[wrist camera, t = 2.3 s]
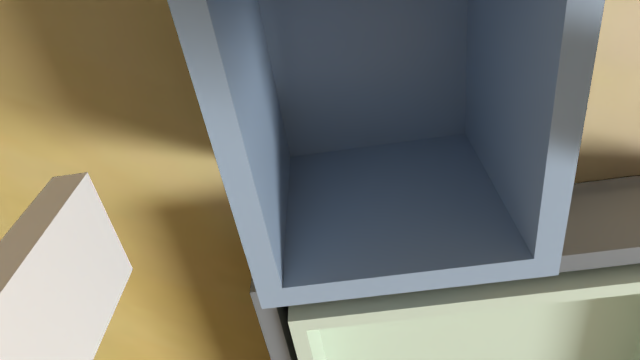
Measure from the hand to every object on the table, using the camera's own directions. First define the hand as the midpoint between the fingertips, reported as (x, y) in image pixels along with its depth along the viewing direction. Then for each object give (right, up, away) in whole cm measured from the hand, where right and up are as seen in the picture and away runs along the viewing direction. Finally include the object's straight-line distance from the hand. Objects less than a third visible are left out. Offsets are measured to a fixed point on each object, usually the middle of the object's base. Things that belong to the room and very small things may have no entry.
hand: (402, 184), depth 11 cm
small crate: (0, +5, +7) cm, 8 cm away
